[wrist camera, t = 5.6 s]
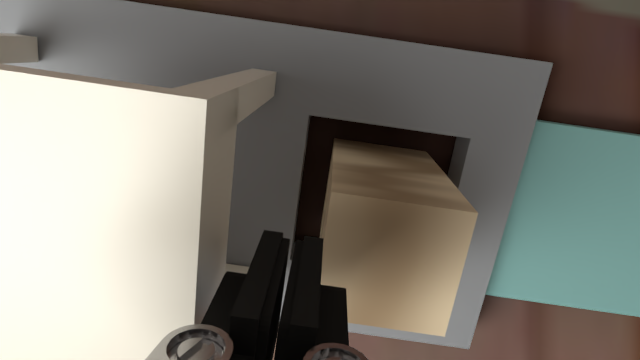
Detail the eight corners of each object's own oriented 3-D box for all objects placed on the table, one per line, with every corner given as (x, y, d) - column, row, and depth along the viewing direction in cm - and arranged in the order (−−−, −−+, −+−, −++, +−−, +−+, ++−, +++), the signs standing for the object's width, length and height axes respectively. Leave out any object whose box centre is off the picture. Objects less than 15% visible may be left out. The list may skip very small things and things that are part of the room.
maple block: (426, 151, 21) (478, 213, 13) (407, 235, 22) (444, 336, 14) (334, 137, 21) (331, 191, 13) (320, 223, 22) (311, 317, 14)
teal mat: (717, 145, 20) (733, 149, 19) (646, 310, 23) (657, 319, 22) (526, 118, 20) (534, 120, 19) (478, 285, 23) (483, 294, 22)
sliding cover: (276, 71, 18) (207, 99, 8) (254, 285, 21) (184, 483, 11) (13, 33, 18) (-357, 17, 8) (29, 253, 21) (-226, 424, 11)
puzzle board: (531, 61, 19) (553, 62, 17) (458, 324, 23) (469, 349, 21) (0, -16, 19) (-37, -23, 17) (23, 261, 23) (-5, 281, 21)
